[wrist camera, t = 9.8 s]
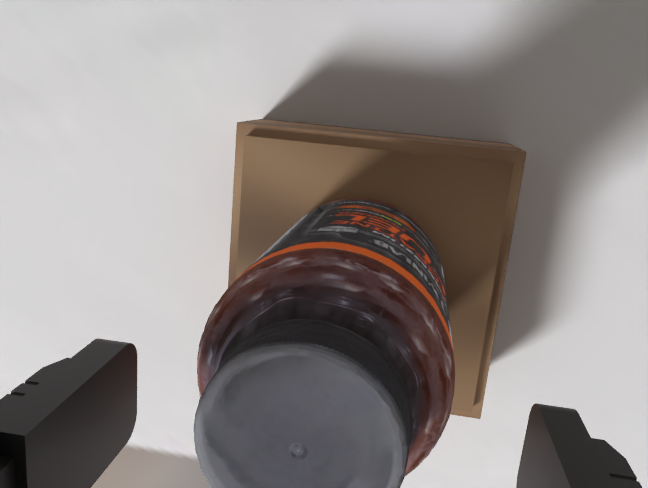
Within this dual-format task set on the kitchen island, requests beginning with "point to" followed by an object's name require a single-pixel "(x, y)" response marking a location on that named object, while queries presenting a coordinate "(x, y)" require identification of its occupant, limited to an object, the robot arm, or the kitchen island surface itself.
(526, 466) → the robot arm
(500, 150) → the plinth
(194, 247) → the kitchen island surface
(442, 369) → the supplement bottle
